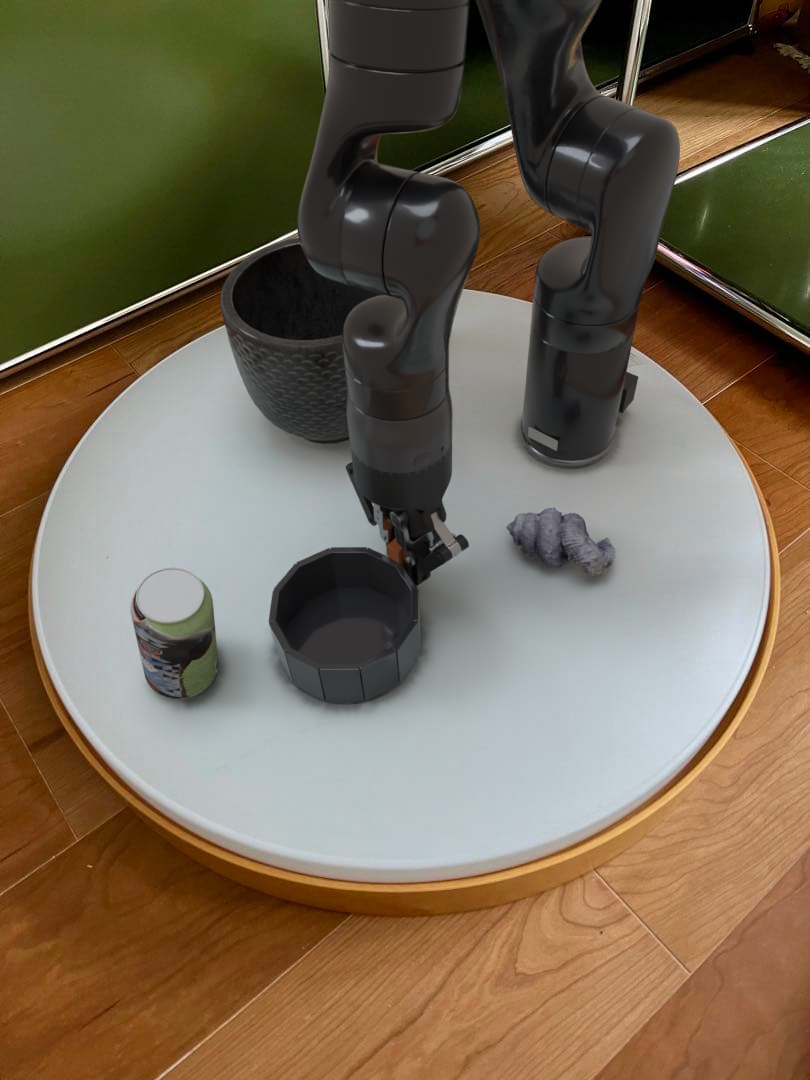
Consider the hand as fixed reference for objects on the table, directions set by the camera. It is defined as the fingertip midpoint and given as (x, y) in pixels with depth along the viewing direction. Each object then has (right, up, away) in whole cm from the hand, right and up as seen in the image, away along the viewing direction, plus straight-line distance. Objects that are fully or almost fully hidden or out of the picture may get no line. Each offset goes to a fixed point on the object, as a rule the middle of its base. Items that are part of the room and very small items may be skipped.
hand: (408, 571), depth 79 cm
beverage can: (-18, -9, -3) cm, 20 cm away
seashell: (+14, +1, +3) cm, 14 cm away
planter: (-8, +16, +16) cm, 24 cm away
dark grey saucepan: (-4, -5, -1) cm, 6 cm away
